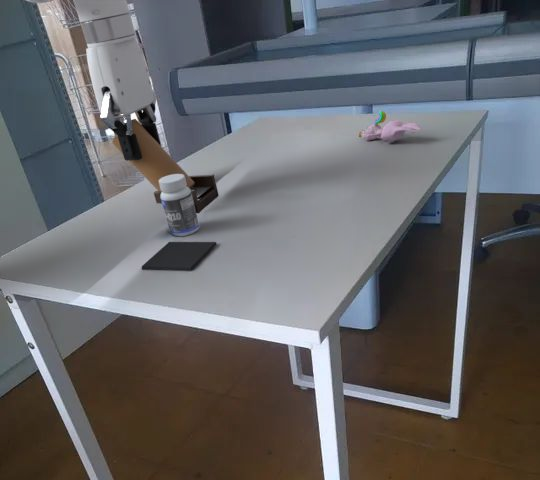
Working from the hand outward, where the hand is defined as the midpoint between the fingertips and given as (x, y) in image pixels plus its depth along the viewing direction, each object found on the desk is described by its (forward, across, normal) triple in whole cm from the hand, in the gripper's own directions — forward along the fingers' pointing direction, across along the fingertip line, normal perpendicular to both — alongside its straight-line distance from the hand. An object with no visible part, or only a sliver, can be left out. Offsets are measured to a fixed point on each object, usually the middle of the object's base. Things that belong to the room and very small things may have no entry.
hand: (143, 152), depth 93 cm
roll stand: (+9, 0, +6) cm, 11 cm away
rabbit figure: (+9, -30, +36) cm, 47 cm away
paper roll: (+4, 0, -1) cm, 4 cm away
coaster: (+10, +20, +15) cm, 27 cm away
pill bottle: (+10, +11, +11) cm, 19 cm away
